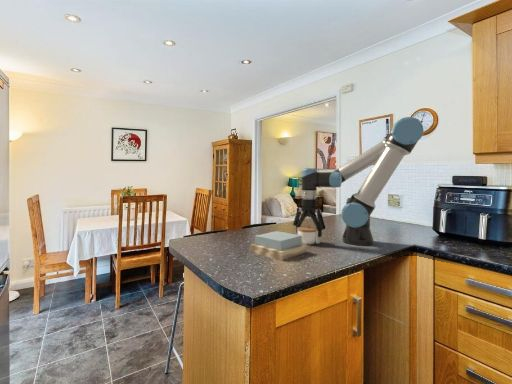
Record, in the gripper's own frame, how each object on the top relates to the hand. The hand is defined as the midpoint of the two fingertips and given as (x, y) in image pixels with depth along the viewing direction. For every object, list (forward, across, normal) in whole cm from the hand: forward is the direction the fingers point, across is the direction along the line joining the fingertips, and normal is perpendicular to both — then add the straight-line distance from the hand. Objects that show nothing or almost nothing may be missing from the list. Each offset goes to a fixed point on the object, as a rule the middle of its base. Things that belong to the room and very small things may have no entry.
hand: (308, 241), depth 141 cm
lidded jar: (+1, 0, 0) cm, 1 cm away
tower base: (+2, 0, -24) cm, 24 cm away
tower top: (-2, 0, -24) cm, 24 cm away
